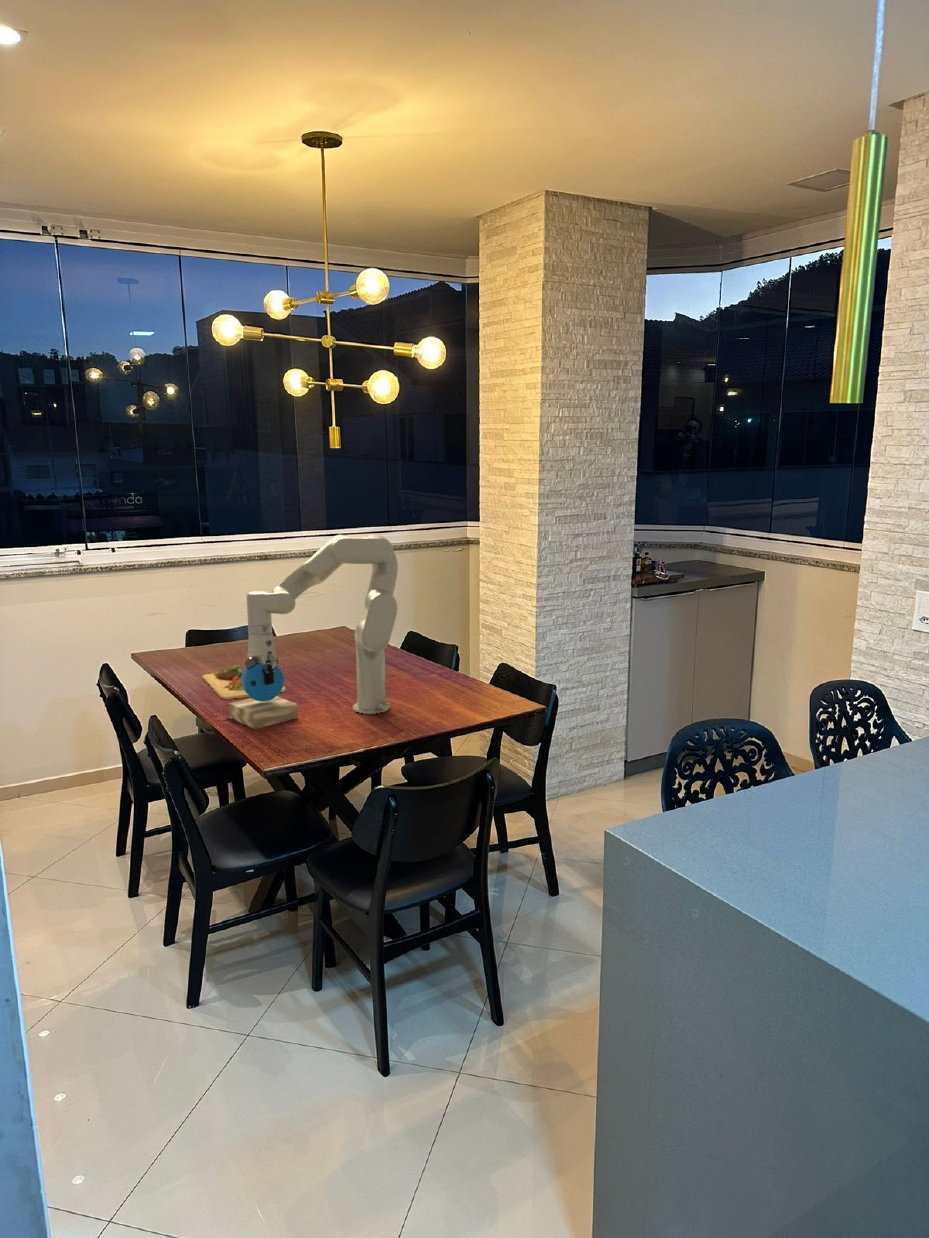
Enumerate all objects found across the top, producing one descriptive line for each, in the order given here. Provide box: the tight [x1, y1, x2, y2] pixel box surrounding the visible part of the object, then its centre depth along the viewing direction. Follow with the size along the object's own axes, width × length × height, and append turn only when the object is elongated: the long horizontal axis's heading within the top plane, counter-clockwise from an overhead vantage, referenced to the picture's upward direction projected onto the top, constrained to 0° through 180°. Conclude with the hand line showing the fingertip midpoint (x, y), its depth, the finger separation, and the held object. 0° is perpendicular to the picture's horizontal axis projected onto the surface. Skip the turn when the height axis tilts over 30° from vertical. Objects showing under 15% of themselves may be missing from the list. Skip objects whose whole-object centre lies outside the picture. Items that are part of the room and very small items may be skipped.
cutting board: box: [202, 665, 286, 701], centre depth 323 cm, size 35×23×8 cm
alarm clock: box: [241, 656, 285, 701], centre depth 281 cm, size 13×6×15 cm, turn 119°
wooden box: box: [228, 695, 299, 730], centre depth 283 cm, size 16×16×5 cm
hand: (262, 681), depth 281 cm, fingers closed on alarm clock, 7 cm apart
